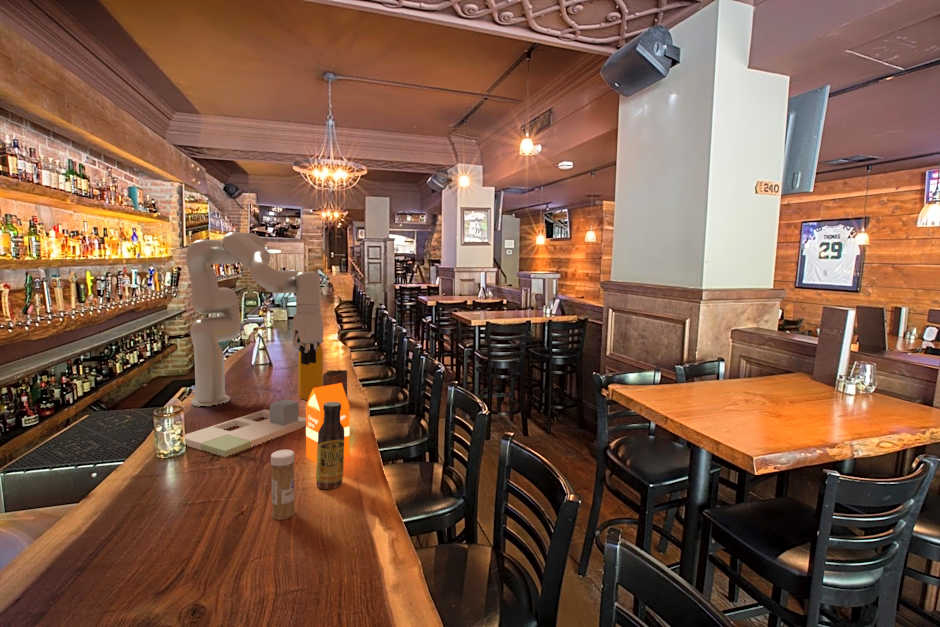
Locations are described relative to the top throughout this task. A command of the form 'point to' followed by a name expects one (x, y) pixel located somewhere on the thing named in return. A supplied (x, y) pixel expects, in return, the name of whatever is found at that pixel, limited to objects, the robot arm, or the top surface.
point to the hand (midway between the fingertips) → (308, 362)
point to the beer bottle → (310, 374)
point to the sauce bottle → (330, 448)
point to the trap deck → (239, 434)
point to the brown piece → (335, 378)
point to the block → (284, 412)
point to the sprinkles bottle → (283, 484)
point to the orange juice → (317, 416)
